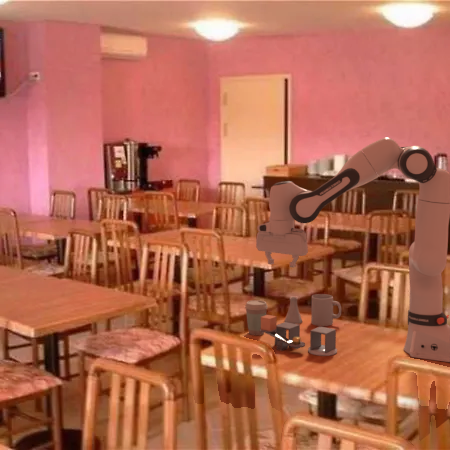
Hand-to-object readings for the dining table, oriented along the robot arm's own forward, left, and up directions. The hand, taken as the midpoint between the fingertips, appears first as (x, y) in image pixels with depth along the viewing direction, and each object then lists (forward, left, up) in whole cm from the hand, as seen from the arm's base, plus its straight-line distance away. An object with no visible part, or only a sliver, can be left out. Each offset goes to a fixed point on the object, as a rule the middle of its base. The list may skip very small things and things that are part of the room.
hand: (281, 265), depth 274 cm
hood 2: (-16, -2, -28) cm, 33 cm away
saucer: (-16, -2, -29) cm, 33 cm away
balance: (-3, +4, -29) cm, 30 cm away
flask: (+14, -28, -29) cm, 43 cm away
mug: (+2, -34, -29) cm, 45 cm away
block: (+3, +4, -23) cm, 23 cm away
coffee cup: (+16, -7, -29) cm, 34 cm away
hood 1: (-1, -2, -29) cm, 29 cm away
